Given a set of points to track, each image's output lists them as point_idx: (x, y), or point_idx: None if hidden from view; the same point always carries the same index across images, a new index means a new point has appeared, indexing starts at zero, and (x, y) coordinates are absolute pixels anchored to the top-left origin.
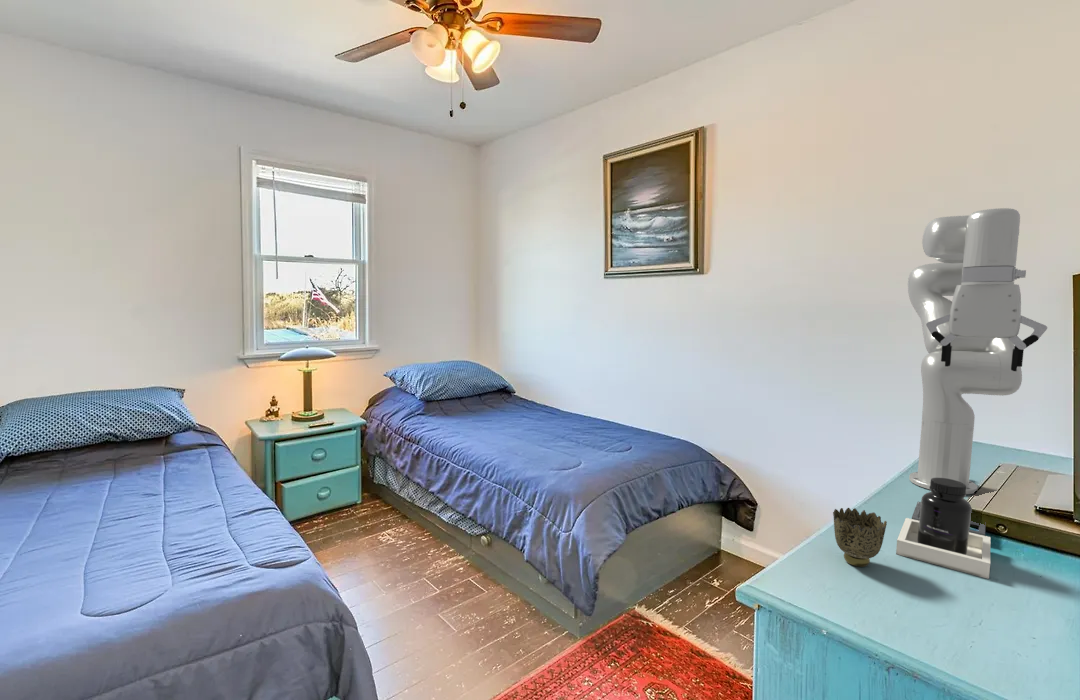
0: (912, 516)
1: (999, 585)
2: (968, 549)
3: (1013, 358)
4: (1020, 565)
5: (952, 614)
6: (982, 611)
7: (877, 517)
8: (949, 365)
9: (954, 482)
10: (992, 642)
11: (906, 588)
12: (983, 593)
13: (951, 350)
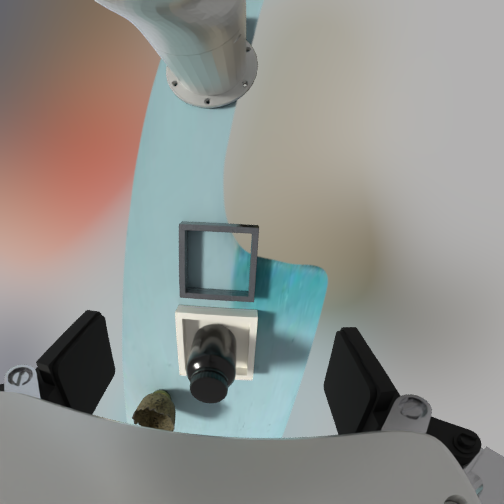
0: (180, 292)
1: (259, 376)
2: (238, 325)
3: (338, 422)
4: (280, 327)
5: (229, 425)
6: (245, 414)
7: (163, 414)
8: (114, 372)
9: (214, 388)
10: (248, 437)
11: (200, 411)
12: (247, 394)
13: (72, 363)
